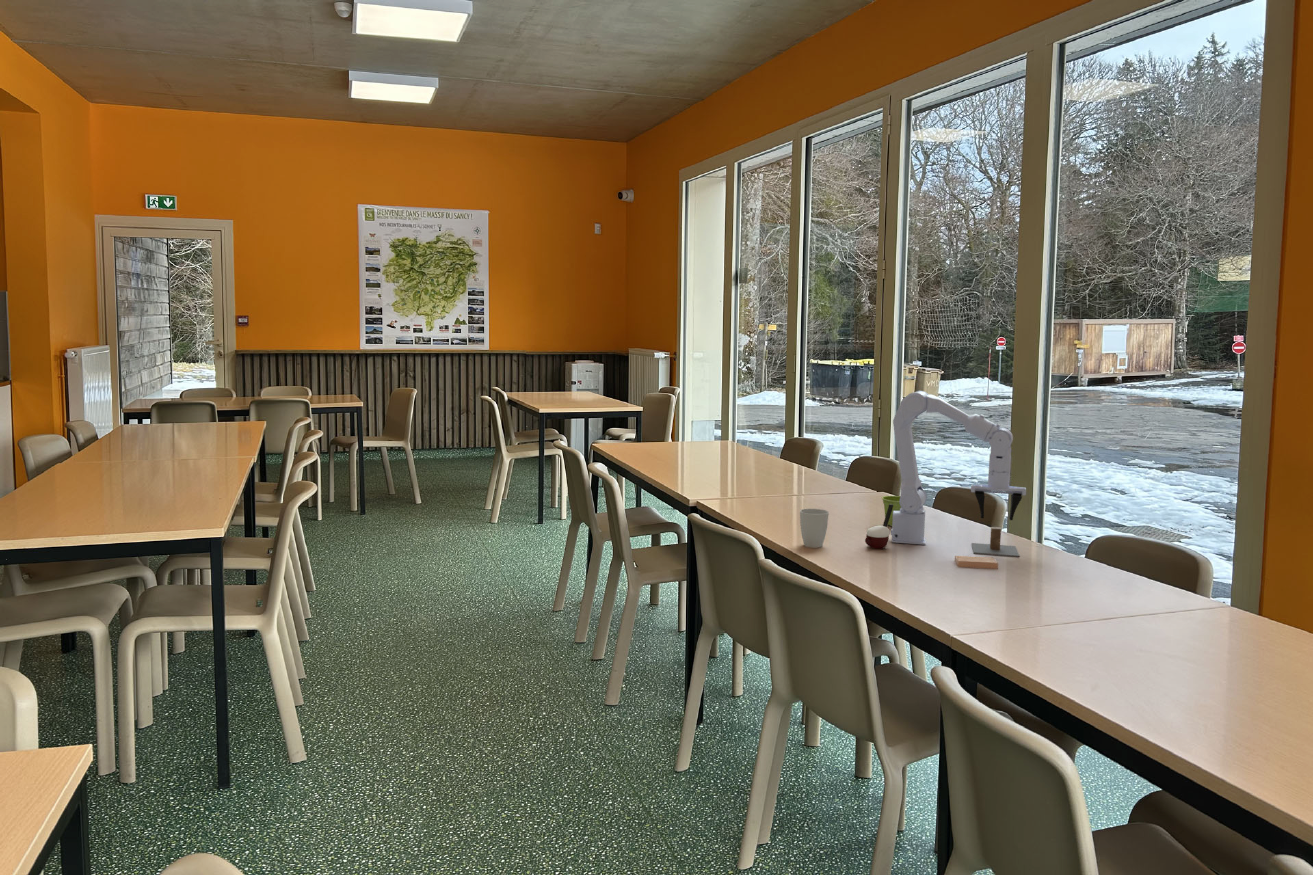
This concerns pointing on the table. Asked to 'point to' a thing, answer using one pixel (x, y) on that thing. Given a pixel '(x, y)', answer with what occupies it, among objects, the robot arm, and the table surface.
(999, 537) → the stick
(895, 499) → the plant pot
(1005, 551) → the mat
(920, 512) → the robot arm
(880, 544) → the cocoa
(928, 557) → the table surface
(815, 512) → the cup
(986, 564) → the tile
